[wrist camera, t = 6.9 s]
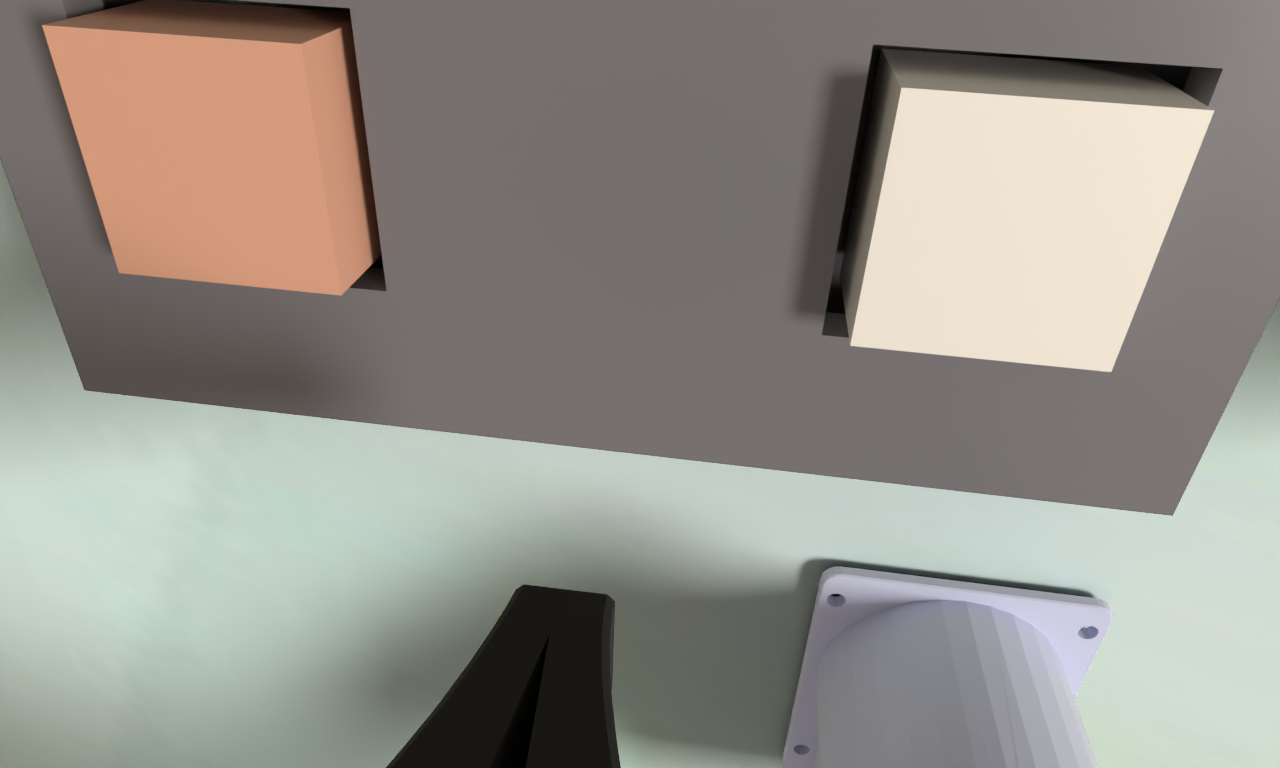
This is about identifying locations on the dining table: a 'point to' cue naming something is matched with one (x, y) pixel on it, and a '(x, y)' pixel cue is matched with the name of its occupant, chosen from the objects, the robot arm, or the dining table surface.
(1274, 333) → the dining table surface
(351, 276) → the terracotta key
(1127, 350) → the panel
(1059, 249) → the off-white key
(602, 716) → the robot arm
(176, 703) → the dining table surface
